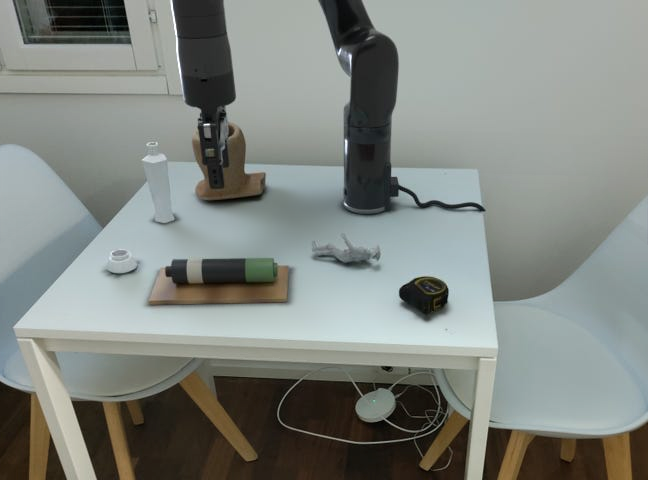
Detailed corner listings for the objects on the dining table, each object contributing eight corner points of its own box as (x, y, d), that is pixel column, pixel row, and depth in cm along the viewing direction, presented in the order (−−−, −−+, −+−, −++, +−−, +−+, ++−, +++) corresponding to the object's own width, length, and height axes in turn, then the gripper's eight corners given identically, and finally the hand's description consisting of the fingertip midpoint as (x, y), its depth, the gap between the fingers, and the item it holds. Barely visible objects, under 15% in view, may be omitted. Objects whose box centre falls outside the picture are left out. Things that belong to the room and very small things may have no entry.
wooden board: (288, 269, 122) (288, 265, 122) (286, 302, 113) (286, 298, 113) (161, 271, 121) (161, 267, 121) (149, 305, 112) (148, 300, 112)
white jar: (124, 258, 125) (101, 270, 122) (121, 243, 123) (98, 254, 120) (143, 266, 123) (121, 278, 120) (140, 251, 121) (118, 262, 118)
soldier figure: (326, 251, 130) (386, 240, 125) (326, 276, 128) (388, 265, 124) (307, 236, 123) (370, 224, 118) (307, 263, 121) (371, 251, 117)
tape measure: (396, 302, 113) (397, 282, 111) (429, 290, 116) (430, 270, 114) (422, 321, 109) (424, 301, 106) (456, 308, 112) (458, 288, 109)
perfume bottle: (171, 224, 136) (159, 149, 128) (150, 222, 137) (136, 147, 128) (181, 215, 140) (169, 140, 131) (160, 213, 141) (147, 139, 132)
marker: (165, 287, 115) (162, 264, 113) (170, 278, 118) (167, 255, 116) (277, 286, 115) (276, 263, 113) (278, 276, 119) (277, 253, 117)
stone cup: (196, 210, 142) (185, 136, 133) (196, 187, 152) (186, 117, 143) (270, 204, 144) (265, 131, 135) (266, 182, 154) (261, 113, 145)
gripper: (186, 56, 105) (201, 161, 114) (171, 82, 93) (190, 196, 103) (236, 54, 105) (247, 160, 115) (228, 80, 94) (241, 195, 103)
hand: (220, 177), depth 109 cm, fingers open, 8 cm apart
